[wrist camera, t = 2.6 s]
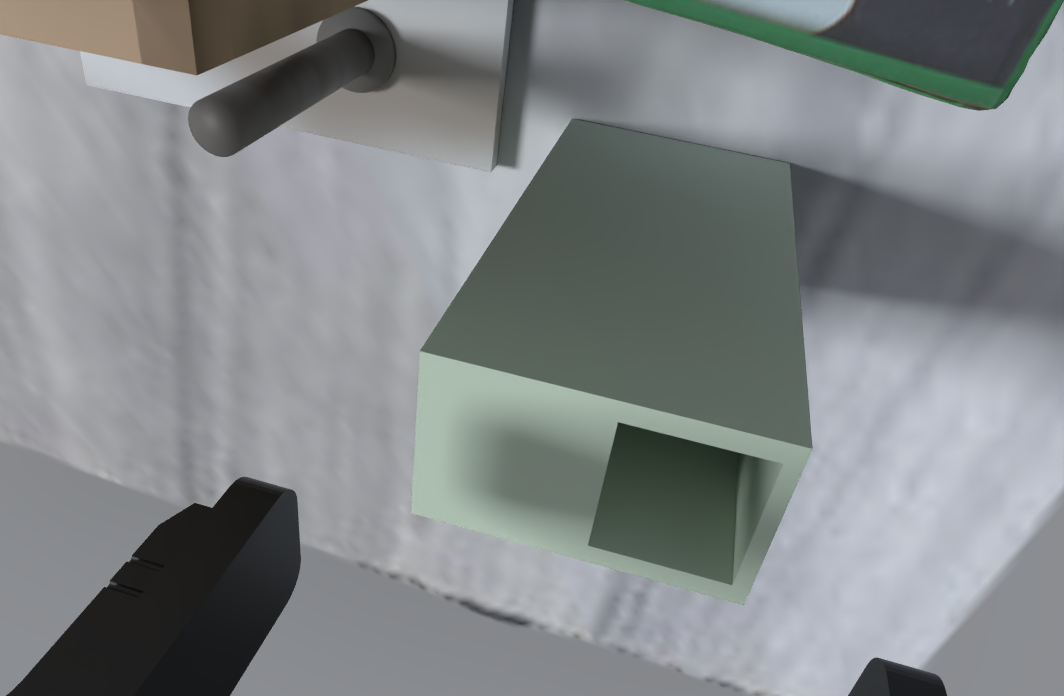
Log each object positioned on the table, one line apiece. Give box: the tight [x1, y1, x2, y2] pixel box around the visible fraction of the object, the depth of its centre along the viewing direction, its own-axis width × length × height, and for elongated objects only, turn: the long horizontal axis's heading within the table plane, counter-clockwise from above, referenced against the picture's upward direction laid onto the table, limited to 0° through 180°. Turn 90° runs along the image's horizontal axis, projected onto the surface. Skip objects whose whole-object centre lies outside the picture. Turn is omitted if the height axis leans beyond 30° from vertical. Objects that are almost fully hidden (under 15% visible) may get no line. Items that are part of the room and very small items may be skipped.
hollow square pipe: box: [411, 119, 812, 605], centre depth 18 cm, size 4×6×12 cm
